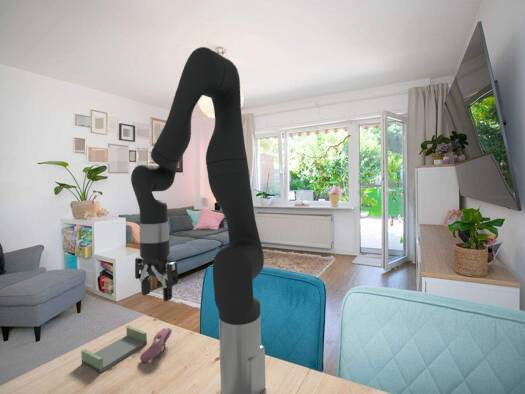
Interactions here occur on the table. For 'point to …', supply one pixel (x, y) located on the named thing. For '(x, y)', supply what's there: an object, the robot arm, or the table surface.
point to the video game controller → (156, 345)
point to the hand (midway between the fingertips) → (156, 297)
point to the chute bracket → (115, 350)
